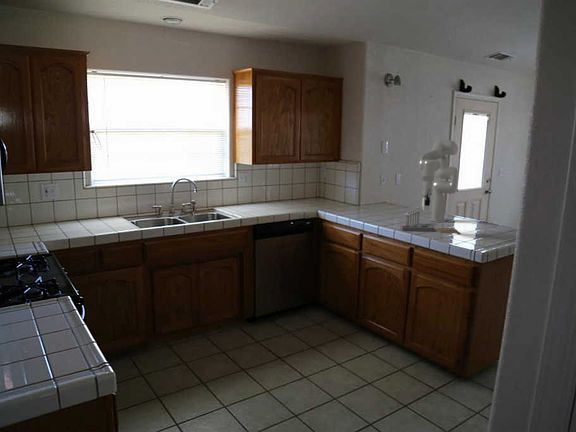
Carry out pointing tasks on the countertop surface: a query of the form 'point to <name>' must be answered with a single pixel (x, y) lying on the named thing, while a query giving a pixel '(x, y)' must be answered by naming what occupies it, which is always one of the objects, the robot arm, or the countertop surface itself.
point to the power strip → (417, 228)
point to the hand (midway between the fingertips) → (426, 204)
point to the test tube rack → (412, 216)
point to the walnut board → (448, 230)
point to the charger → (425, 208)
